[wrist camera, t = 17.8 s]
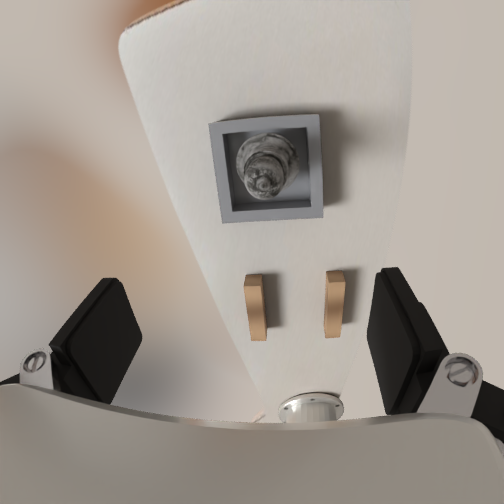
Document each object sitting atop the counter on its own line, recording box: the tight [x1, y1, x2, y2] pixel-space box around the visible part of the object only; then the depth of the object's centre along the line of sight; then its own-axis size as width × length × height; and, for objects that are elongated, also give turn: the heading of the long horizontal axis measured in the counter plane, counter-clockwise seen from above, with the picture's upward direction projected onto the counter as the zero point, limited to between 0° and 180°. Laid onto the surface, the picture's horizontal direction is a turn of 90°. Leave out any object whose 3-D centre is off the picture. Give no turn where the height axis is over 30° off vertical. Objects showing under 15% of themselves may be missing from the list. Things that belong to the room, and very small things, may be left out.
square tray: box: [209, 114, 323, 223], centre depth 29 cm, size 10×10×3 cm
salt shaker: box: [236, 133, 300, 200], centre depth 24 cm, size 6×6×12 cm
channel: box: [244, 271, 345, 341], centre depth 37 cm, size 9×12×2 cm
